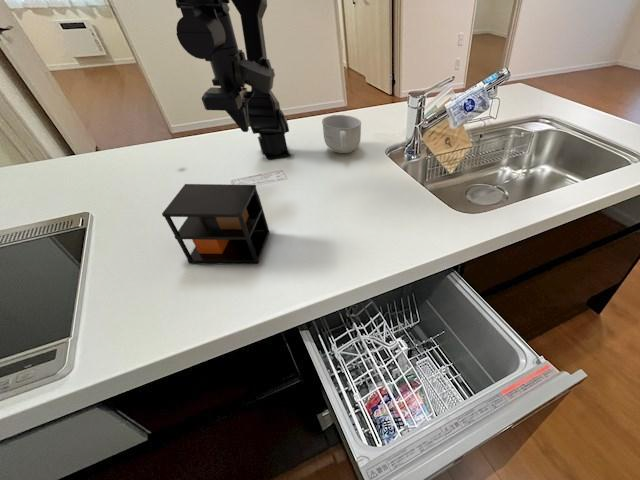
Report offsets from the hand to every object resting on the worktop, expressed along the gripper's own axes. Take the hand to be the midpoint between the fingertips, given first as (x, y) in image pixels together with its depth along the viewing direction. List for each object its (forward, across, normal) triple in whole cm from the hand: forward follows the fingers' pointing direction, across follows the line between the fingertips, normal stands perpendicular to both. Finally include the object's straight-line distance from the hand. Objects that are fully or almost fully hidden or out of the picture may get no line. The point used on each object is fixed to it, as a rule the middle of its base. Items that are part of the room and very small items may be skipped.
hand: (245, 131), depth 77 cm
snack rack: (+13, -25, 0) cm, 28 cm away
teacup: (+13, +20, -19) cm, 31 cm away
